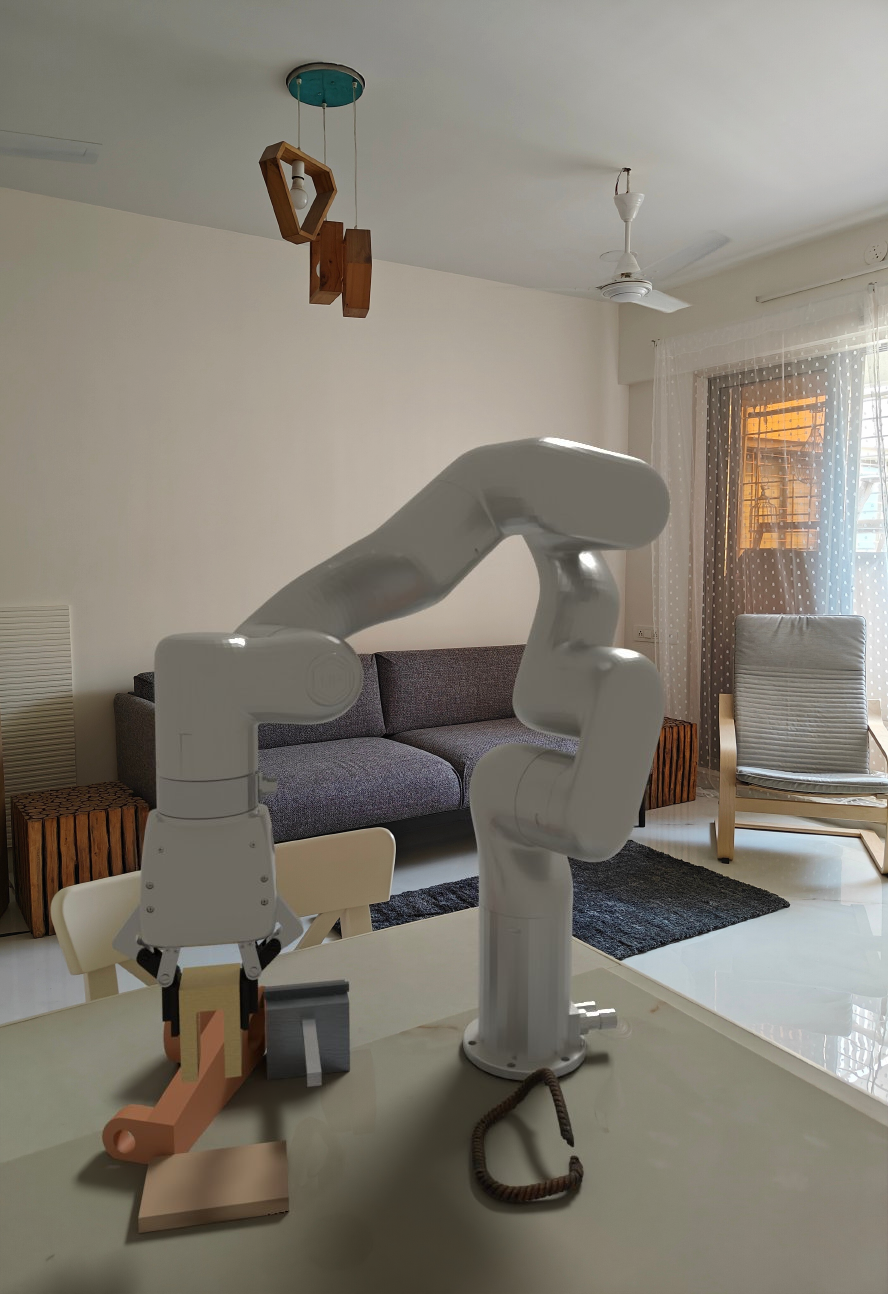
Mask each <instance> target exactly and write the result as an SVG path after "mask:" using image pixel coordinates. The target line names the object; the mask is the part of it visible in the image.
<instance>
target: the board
mask: <svg viewBox="0 0 888 1294" xmlns="http://www.w3.org/2000/svg"><path fill="white" fill-rule="evenodd" d="M287 1149H288V1148H287V1140H279V1141H278V1140H277V1141H269V1142H268V1141H267V1142H261V1143H254V1144H244V1145H239V1146H238V1145H237V1146H236V1145H235V1146H230V1147H223V1148H222V1147H221V1148H213V1149H206V1150H205V1149H204V1150H197V1151H188V1153H181V1154H173V1155H165V1156H157V1157H150V1158H149V1164H147V1169H146V1175H145V1181H144V1185H143V1191H142V1197H141V1201H140V1208H139V1213H138V1217H137V1219H138V1234H141V1233H142V1234H143V1233H150V1232H157V1231H164V1230H170V1229H178V1228H185V1227H191V1226H192V1227H193V1226H199V1225H207V1224H213V1223H220V1222H226V1221H235V1220H241V1219H248V1218H255V1217H256V1218H257V1217H263V1216H268V1214H270V1215H276V1214H275V1213H277V1214H280V1213H279V1212H284V1213H286V1212H285V1211H289V1212H290V1195H289V1193H290V1192H289V1172H288V1153H287Z"/></svg>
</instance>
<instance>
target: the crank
mask: <svg viewBox="0 0 888 1294" xmlns="http://www.w3.org/2000/svg"><path fill="white" fill-rule="evenodd" d="M266 987H267V986H265V985H259V984H258V1013H256V1014H250V1016H249V1030H245V1031H242V1068H241V1076H238V1077H230V1078H225V1052H224V1010H223V1009H222V1010H212V1011H202V1012H200V1036H201V1058H200V1067H199V1076H198V1081H196V1082H187V1083H181V1066H180V1067H179V1068H178V1070H177V1072H176V1073H175V1075H174V1077H173V1078H172V1079H171V1081H170V1083H169V1085H168V1086H167V1088H166V1089H165V1091H164V1092H163V1094H162V1095H161V1097H160V1098H159V1100H158V1102H157V1103H156V1105H155V1106H148V1105H140V1104H135V1103H134V1104H133V1103H132V1104H128V1105H125V1106H123V1107H122V1108H121V1109H119V1111H118V1112H117V1113H115V1115H113V1116H112V1118H111V1119H109V1121H108V1122H107V1123H106V1124H105V1125H104V1127H103V1130H102V1133H101V1135H102V1136H101V1138H102V1139H101V1140H102V1144H103V1147H104V1149H105V1150H106V1152H107V1153H108V1154H109V1156H110V1157H111V1158H113V1159H115V1160H120V1161H125V1162H126V1161H127V1162H132V1163H139V1164H144V1165H148V1164H149V1158H150V1157H157V1156H165V1155H173V1154H181V1153H189V1152H190V1150H191V1149H192V1148H193V1147H194V1145H195V1144H196V1143H197V1141H198V1140H199V1139H200V1137H201V1136H202V1135H203V1134H204V1132H205V1131H206V1130H207V1129H208V1128H209V1126H210V1125H211V1124H212V1122H213V1121H214V1120H215V1119H216V1117H217V1116H218V1115H219V1113H220V1112H221V1111H222V1109H223V1108H224V1107H225V1106H226V1105H227V1103H228V1102H229V1101H230V1100H231V1098H233V1095H235V1093H236V1092H237V1091H238V1090H239V1088H241V1086H242V1084H243V1083H244V1082H245V1081H246V1079H247V1078H248V1077H249V1075H250V1074H251V1073H252V1072H253V1070H254V1069H256V1067H257V1066H258V1064H259V1063H260V1062H261V1060H262V1059H263V1057H264V1055H265V1053H266V1052H267V1044H266V1000H264V989H266ZM162 1037H163V1048H164V1053H165V1055H166V1057H167V1059H168V1060H169V1061H170V1062H172V1063H175V1064H178V1063H179V1064H181V1050H180V1035H179V1036H178V1037H171V1021H167V1022H164V1024H163V1036H162ZM129 1133H130V1134H131V1135H132V1136H131V1135H130V1134H129Z"/></svg>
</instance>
